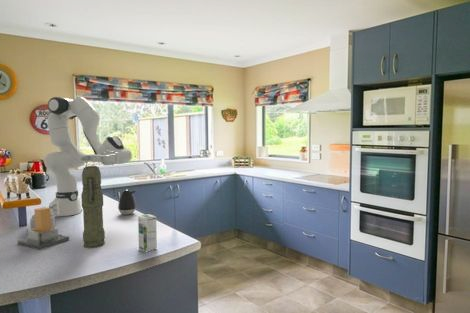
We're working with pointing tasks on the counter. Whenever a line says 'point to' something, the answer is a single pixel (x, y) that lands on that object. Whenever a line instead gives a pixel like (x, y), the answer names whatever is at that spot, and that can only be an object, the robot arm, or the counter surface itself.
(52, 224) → the lumpy-topped squat cylinder
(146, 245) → the syrup box
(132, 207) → the black kettle
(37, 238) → the grey rail base plate
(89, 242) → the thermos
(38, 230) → the tall orange pillar
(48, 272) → the counter surface
